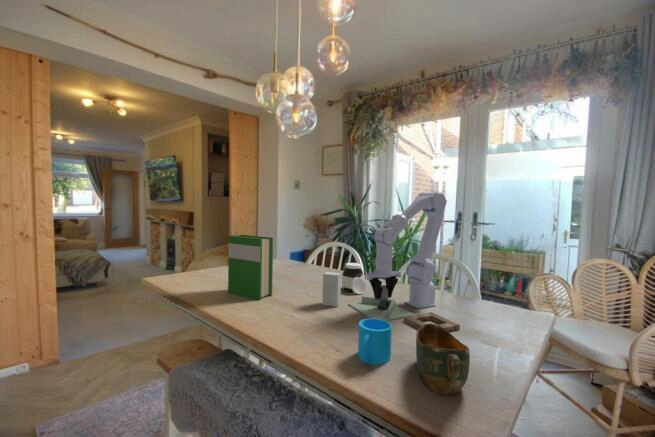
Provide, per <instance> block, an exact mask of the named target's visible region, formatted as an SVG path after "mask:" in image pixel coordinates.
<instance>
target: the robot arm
mask: <svg viewBox="0 0 655 437" xmlns="http://www.w3.org/2000/svg"><path fill="white" fill-rule="evenodd" d="M447 203H448V201H447V198H446V197H445V194H444V193H443V192H442V191H435V192H424V191H423V192H420V193H419V194H418V195H417V196H415V198H414V200H413V202H411V203H410V204H409V206H407V208H406V209H405V210H404V211H403V212H402V213H401V214H399V213H398V214H393V215H392V218H391V219H390V220H388V222H386V223H384V224H383V226H382V227H379V228H377V229H376V231H375V233H374V234H373V239H374V241H375V246H376V252H375V254H376V255H375V256H376V257H375V271H373V272H369V273H365V275H364V276H365V280H366V281H369V284H370V286H371V288H372V292H373V297H375V298H376V299H379V298H380V288H381V285H383V281H381V280H380V279H384V281H385V285H386V286H389V296H388V299H392V295H393V292H394V290H395V287H396V285H397V283H399V278H402V272H401V271H399V270H393V269H392V268H393V246H394V244H395V243H396V241H397V238H398V235H400V233H401V232H403V231H404V230H405V229H406V228H407V227H408V226H409V222H408V221H410V220H411V219H412V218H414V216H416V215H417V214H418V213H419V212H421V211H423V213H424V214H425V215H426V217H427V221H426V224H425V227H424V231H423V234H422V236H421V241H420V244H419V247H418V251H417V253H416V255H415V256H414V257H412V258H411V260H409V263H408V265H407V266H406V268H405V274H406V276H407V277H408V281H409V294H408V297H409V298H408V300H404V301H403V302H404V303H405V304H408V305H410V306H411V307H414V308H416V309H421V308H428V307H434V306H437V303H436V287H435V284H434V283H433V282H432V281H433V280H434V277H435V267H436V265H435V264H434V262H433V261H432V257H433V253H434V250H435V247H436V244H437V240H438V238H439V233H440V230H441V227H442V225H443V224H442V223H443V221H444V217H445V215H444V214H445V209H446V205H447Z"/></svg>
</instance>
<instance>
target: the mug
mask: <svg viewBox="0 0 655 437" xmlns="http://www.w3.org/2000/svg"><path fill="white" fill-rule="evenodd" d="M392 328H393V326H392V324H391V323H390V322H389V321H385V320H381V319H373V318H365V319H360V320H359V322H358V340H357V341H358V346H357V356H358V358H359V360H360V361H362V362H363V363H366V364H370V365H378V366H379V365H385V364H388V363H389V362H390V361H391V360H392V359H391V358H392V333H393V332H392V331H393V329H392Z"/></svg>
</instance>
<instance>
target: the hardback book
mask: <svg viewBox="0 0 655 437" xmlns="http://www.w3.org/2000/svg"><path fill="white" fill-rule="evenodd" d="M273 258H274V238H273V237H269V236H261V235H260V236H259V235H249V234H235V235H229V236H228V258H227V259H228V265H227V266H228V277H227V280H228V281H227V285H228V286H227V293H228V292H229V293H228V294H231V293H233V294H232V295H235V294H237V295H236V296H239V295H241V296H240V297H243V296H244V298H248V299H253V300H257V301H261V300H262V298H264V297H265V296H267V295H268V297H272V296H273V276H274V275H273V271H274V270H273V268H274V266H273V265H274V263H273V262H274V261H273V260H274V259H273Z"/></svg>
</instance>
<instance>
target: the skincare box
mask: <svg viewBox="0 0 655 437" xmlns="http://www.w3.org/2000/svg"><path fill="white" fill-rule="evenodd" d="M341 287H342V274H341V272H332V271H331V272H330V271H326V272H324V273H323V274H322V306H326V307H327V306H329V307H335V308H337V307H339V306H340V305H341V295H342V294H341Z"/></svg>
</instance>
